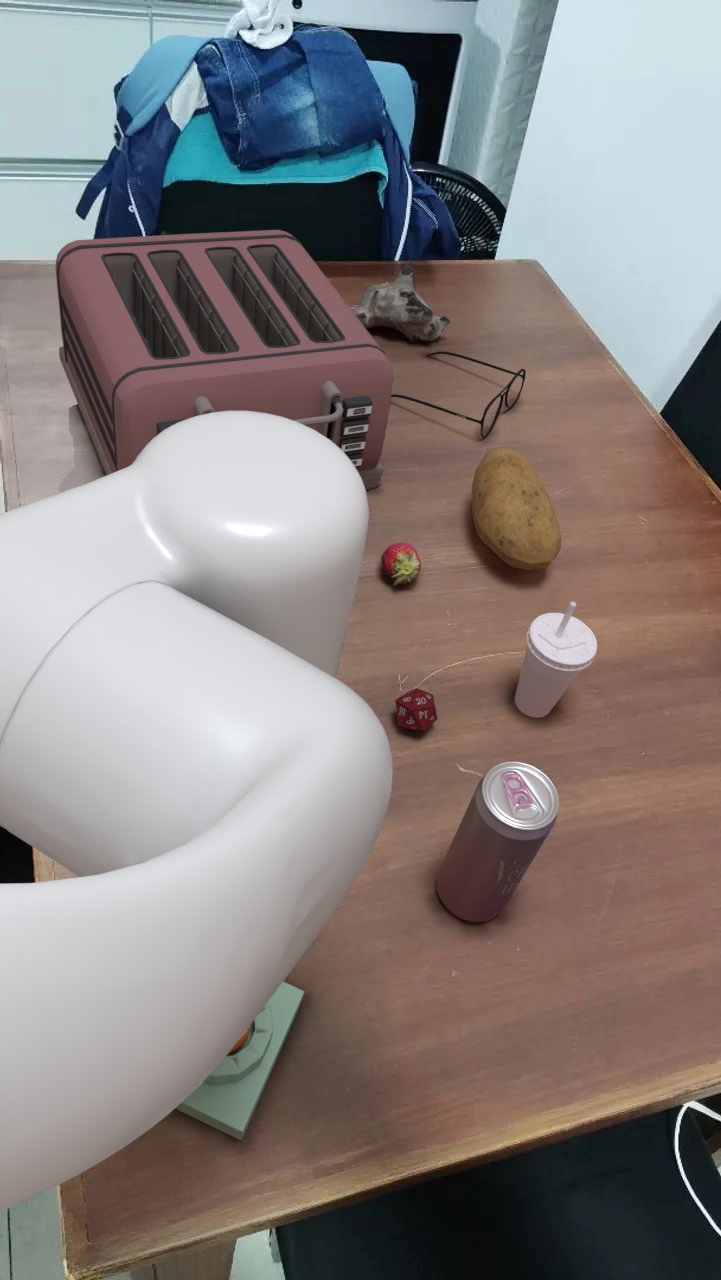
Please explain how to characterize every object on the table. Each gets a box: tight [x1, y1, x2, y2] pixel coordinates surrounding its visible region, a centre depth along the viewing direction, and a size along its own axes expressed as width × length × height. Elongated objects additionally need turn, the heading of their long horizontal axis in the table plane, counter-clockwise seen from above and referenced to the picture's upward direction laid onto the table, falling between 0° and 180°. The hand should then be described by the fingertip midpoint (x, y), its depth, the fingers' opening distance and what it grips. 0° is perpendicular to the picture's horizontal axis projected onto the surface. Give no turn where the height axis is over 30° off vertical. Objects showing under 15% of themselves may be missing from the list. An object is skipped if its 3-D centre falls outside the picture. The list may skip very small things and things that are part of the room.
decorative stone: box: [349, 264, 451, 343], centre depth 129 cm, size 16×9×10 cm, turn 95°
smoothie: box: [514, 601, 598, 719], centre depth 84 cm, size 6×6×14 cm
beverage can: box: [435, 760, 560, 923], centre depth 70 cm, size 6×6×15 cm
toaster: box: [54, 229, 394, 491], centre depth 104 cm, size 30×36×17 cm
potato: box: [471, 446, 562, 571], centre depth 101 cm, size 9×16×9 cm, turn 10°
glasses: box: [391, 350, 527, 438], centre depth 122 cm, size 14×15×5 cm
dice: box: [394, 687, 438, 732], centre depth 84 cm, size 4×4×4 cm
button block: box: [174, 981, 305, 1141], centre depth 63 cm, size 10×8×4 cm
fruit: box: [380, 542, 422, 586], centre depth 97 cm, size 4×6×5 cm
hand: (210, 924), depth 49 cm, fingers closed
